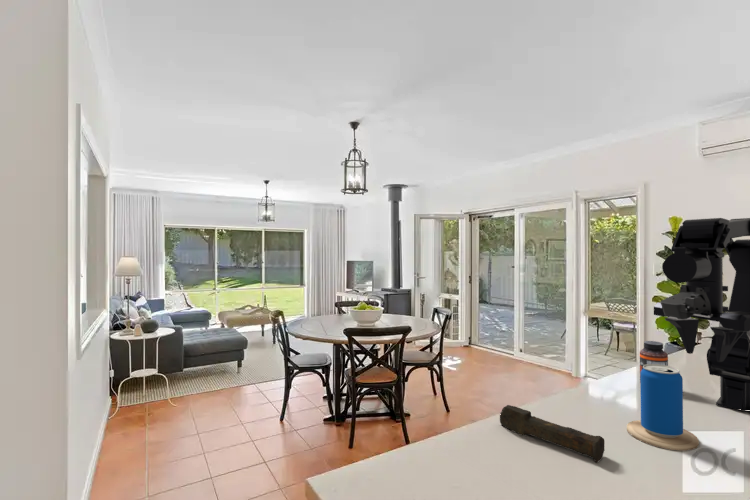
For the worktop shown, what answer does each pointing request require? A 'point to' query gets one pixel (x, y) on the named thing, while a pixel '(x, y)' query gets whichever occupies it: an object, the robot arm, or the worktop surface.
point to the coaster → (679, 443)
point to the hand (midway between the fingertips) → (704, 357)
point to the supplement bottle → (653, 354)
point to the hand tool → (552, 432)
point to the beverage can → (661, 400)
